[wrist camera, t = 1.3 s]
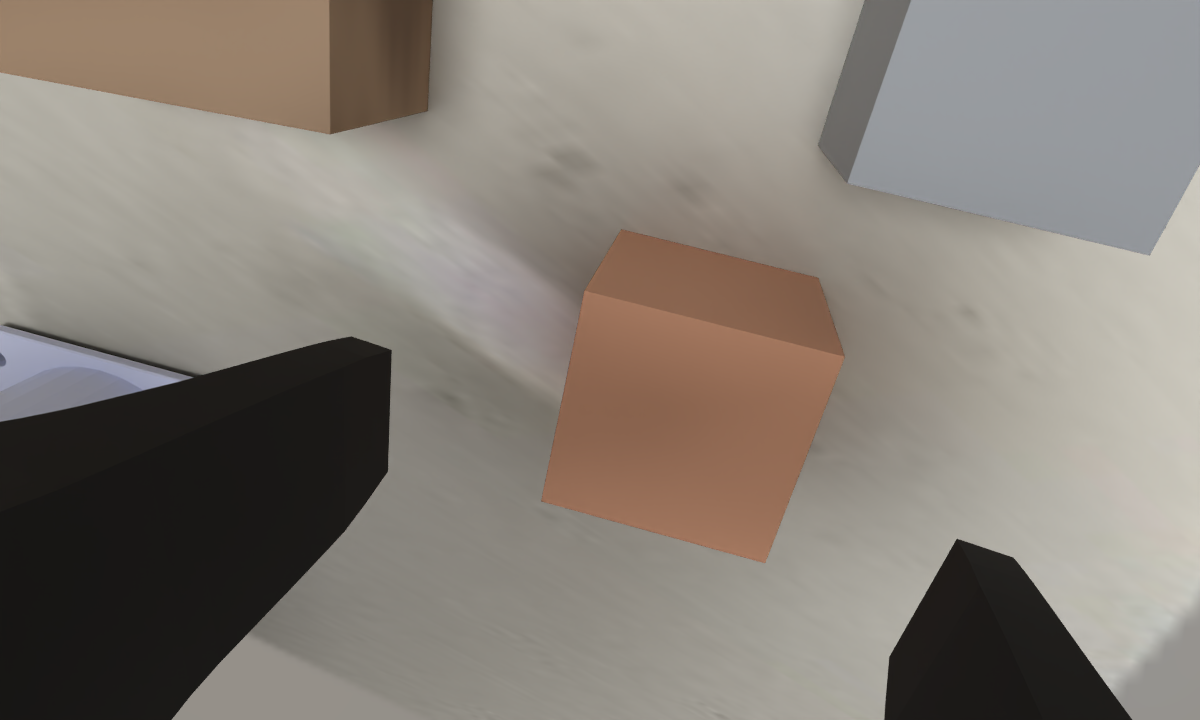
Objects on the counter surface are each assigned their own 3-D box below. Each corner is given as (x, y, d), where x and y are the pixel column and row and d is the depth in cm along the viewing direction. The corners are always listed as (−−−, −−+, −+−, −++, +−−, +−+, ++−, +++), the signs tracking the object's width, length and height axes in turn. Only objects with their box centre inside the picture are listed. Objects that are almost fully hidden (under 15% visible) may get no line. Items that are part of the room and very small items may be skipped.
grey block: (1036, 196, 16) (1149, 255, 12) (817, 144, 17) (847, 183, 12) (1152, -53, 14) (1343, -96, 10) (898, -106, 15) (971, -172, 10)
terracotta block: (758, 445, 20) (765, 563, 16) (584, 399, 20) (541, 500, 16) (817, 276, 18) (844, 356, 13) (621, 228, 18) (584, 290, 14)
